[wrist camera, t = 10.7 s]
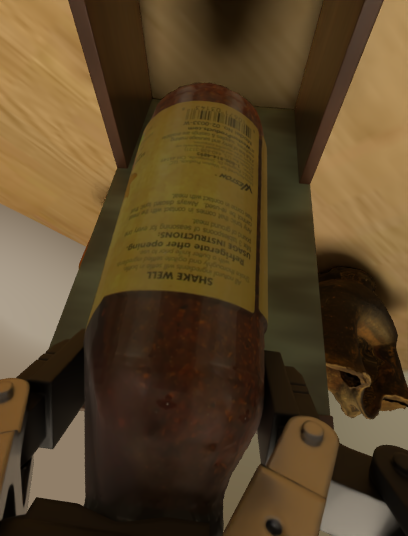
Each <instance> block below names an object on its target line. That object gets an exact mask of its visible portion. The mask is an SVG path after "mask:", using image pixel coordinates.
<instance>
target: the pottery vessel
mask: <svg viewBox="0 0 408 536" xmlns="http://www.w3.org/2000/svg"><path fill="white" fill-rule="evenodd" d="M318 282H319V294H320V305H321V316H322V328H323V339H324V351H325V362H326V374H327V385H328V390H329V391H331V392H332V394H333V395H334V397H335V399H336V400H337V401H338V402H339V403H340V405H341V409H342V411H343V412H344V413H345V415H347V416H349V417H351V418H354V417H356V416H357V415H360V414H361V413H362V414H363V415H364V416H365V417H366V419H374V418H375V417H376V416H377V415H378V414H379V411H387V410H389V411H391V410H395V409H398V408H403V409H405V408H406V407H408V387H407V384H406V381H405V378H404V374H403V371H402V367H401V363H400V360H399V357H398V354H397V350H396V343H397V338H398V334H397V331H396V328H395V326H394V323H393V320H392V319H391V316H390V315H389V313H388V311H387V309H386V307H385V306H384V304H383V302H382V301H381V300H380V298H379V297H378V296H377V295H376V294H375V293H374V292H373V291H375V286H376V285H375V282H374V280H373V278H372V277H371V276H369V275H368V274H367V273H366V272H364V271H361V270H357V269H352V268H343V267H336V268H333V269H332V270H331V271H329V272H328V273H321V274H318Z"/></svg>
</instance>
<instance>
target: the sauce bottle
mask: <svg viewBox="0 0 408 536" xmlns="http://www.w3.org/2000/svg"><path fill="white" fill-rule="evenodd" d="M267 327H268V240H267V147H266V143H265V139H264V134H263V128H262V125H261V121H260V118H259V115H258V113H257V111H256V110H255V108H254V107H253V106H252V105H251V103H250V102H249V101H247V99H245V98H244V97H242V96H241V95H240V94H238V93H236V92H233V91H231V90H229V89H228V88H227V87H224V86H221V85H217V84H212V83H193V84H190V85H186V86H183V87H179V88H178V89H176V90H175V91H173V92H170V93H169V94H167V95H166V96H165V97H164V98H163V99H162V100H161V101H160V102H159V103H158V105H157V107H156V109H155V112H154V114H153V116H152V118H151V121H150V122H149V123H148V124H147V126H146V128H145V130H144V132H143V135H142V138H141V141H140V144H139V148H138V151H137V154H136V158H135V161H134V164H133V168H132V171H131V174H130V178H129V181H128V185H127V188H126V192H125V196H124V199H123V202H122V205H121V209H120V213H119V216H118V220H117V223H116V226H115V229H114V233H113V236H112V240H111V244H110V247H109V250H108V254H107V258H106V259H105V263H104V268H103V271H102V275H101V278H100V282H99V286H98V289H97V292H96V296H95V297H94V301H93V305H92V309H91V313H90V316H89V320H88V323H87V327H86V330H85V335H84V341H83V344H84V398H85V493H86V498H85V504H84V507H86V508H88V509H90V510H92V511H94V512H96V513H98V514H101V515H103V516H105V517H107V518H109V519H111V520H113V521H116V522H127V521H136V520H144V519H153V518H161V517H170V518H177V519H184V520H190V521H197V522H203V523H210V529H209V536H222V534H223V524H224V523H223V499H224V494H225V490H226V488H227V486H228V482H229V479H230V477H231V475H232V472H233V471H234V470H235V468H236V466H237V465H238V463H239V461H240V459H241V458H242V456H243V454H244V452H245V450H246V449H247V448H248V446H249V444H250V442H251V439H252V437H253V436H254V434H255V432H256V430H257V428H258V426H259V424H260V420H261V417H262V412H263V407H264V395H265V385H264V375H265V368H264V348H265V342H264V334H265V332H266V331H267Z"/></svg>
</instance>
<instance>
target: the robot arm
mask: <svg viewBox="0 0 408 536" xmlns="http://www.w3.org/2000/svg"><path fill="white" fill-rule="evenodd" d="M85 330H86V329H85V328H82V329H81V330H80V331H79V332H77V333H76V334H75V335H74V336H73V337H72V338H71V339H65V340H63V341H61V342H59V343H57V344H54V345H53V346H52V347H51V348H50V349H48V350H47V351H46V353H45V354H43V355H42V356H40V357H39V359H38V360H36V361H35V362H34V363H32V364H31V365H30V366H29V367H28V368H27V369H26V370H24V371H23V372H22V373H21V374H20V375H19V376H17V377H16V378H6V379H1V380H0V536H209V529H210V523H203V522H197V521H190V520H184V519H177V518H170V517H161V518H153V519H144V520H136V521H127V522H116V521H113V520H111V519H109V518H107V517H105V516H103V515H101V514H98V513H96V512H94V511H92V510H90V509H88V508H86V507H84V506H82V505H80V504H77V503H71V502H64V501H57V500H51V499H44V498H38V497H36V499H35V500H34V502H33V503H32V505H31V506H30V508H29V510H28V511H27V508H28V500H29V493H30V486H31V478H32V471H33V463H34V462H33V461H34V460H33V454H34V452H36V450H37V449H38V448H39V447H41V448H48V449H53V448H54V447H55V445H56V444H57V443H58V441H59V440H60V438H61V437H62V435H63V434H64V432H65V431H66V429H67V428H68V426H69V425H70V424H71V422H72V421H73V419H74V418H75V416H76V415H77V413H78V412H79V410H80V409H81V408H82V406H83V405H84V403H85V398H84V344H83V341H84V335H85ZM264 368H265V375H264V385H265V395H264V407H263V412H262V417H261V420H260V424H259V426H258V428H257V433H258V442H259V450H260V458H261V464H260V465H259V466H258V468H257V470H256V471H255V473H254V475H253V477H252V479H251V481H250V483H249V485H248V487H247V488H246V490H245V492H244V494H243V496H242V498H241V500H240V502H239V504H238V506H237V507H236V509H235V511H234V513H233V515H232V517H231V519H230V521H229V523H228V525H227V527H226V529H225V530H224V532H223V534H222V536H318V535H319V531H320V530H322V531H324V532H326V533H328V534H330V535H332V536H408V450H405V449H403V448H400V447H397V446H392V445H382V446H379V447H377V448H376V449H375V450H374V453H373V457H372V456H369V455H366V454H364V453H361V452H358V451H355V450H353V449H350V448H348V447H346V446H344V445H342V444H340V443H339V438H338V436H337V434H336V433H335V431H334V430H333V429H332V428H331V427H330V426H329V425H327V424H326V423H325V422H323V421H321V420H320V418H319V416H318V413H317V411H316V408H315V406H314V403H313V401H312V398H311V396H310V394H309V391H308V388H307V387H306V383H305V381H304V378H303V376H302V375H301V374H300V373H299V372H298V371H297V370H296V369H295V368H294V367H291V366H285V365H284V362H283V359H282V356H281V353H280V352H276V351H268V350H264Z"/></svg>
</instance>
